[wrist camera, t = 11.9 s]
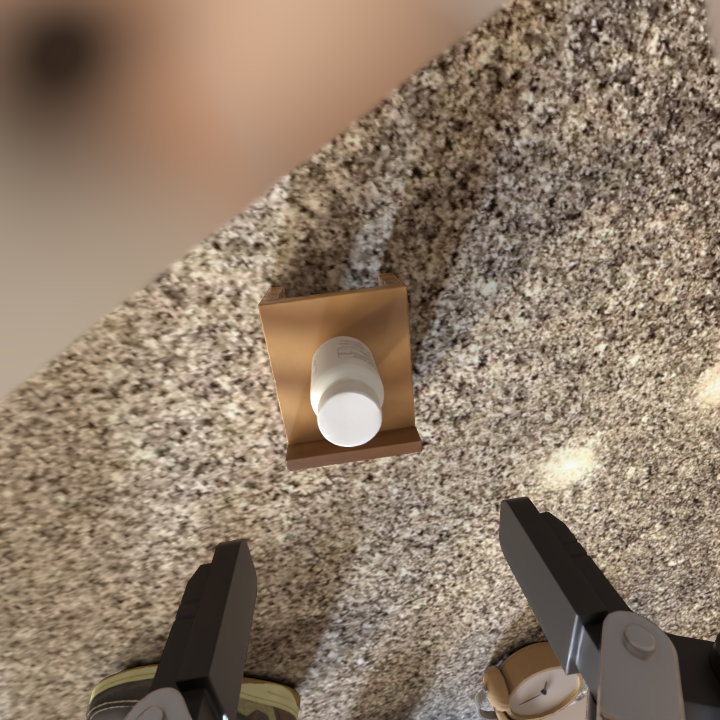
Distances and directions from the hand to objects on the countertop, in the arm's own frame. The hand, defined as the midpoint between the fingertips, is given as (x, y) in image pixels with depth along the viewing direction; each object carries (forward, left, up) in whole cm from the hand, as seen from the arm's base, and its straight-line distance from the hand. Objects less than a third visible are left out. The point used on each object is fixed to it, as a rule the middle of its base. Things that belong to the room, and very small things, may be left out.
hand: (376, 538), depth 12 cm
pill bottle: (+1, 0, -16) cm, 16 cm away
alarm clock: (+54, +19, -22) cm, 61 cm away
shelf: (+2, 0, -22) cm, 22 cm away
